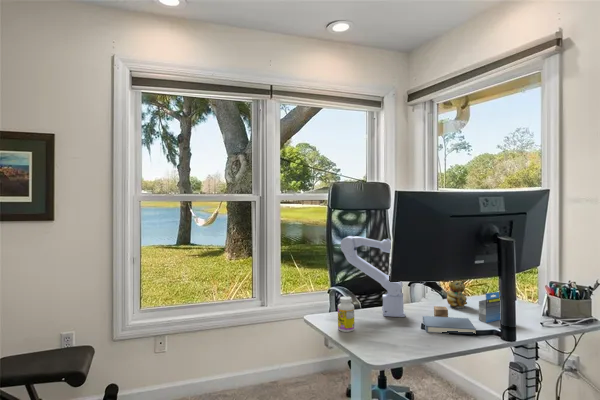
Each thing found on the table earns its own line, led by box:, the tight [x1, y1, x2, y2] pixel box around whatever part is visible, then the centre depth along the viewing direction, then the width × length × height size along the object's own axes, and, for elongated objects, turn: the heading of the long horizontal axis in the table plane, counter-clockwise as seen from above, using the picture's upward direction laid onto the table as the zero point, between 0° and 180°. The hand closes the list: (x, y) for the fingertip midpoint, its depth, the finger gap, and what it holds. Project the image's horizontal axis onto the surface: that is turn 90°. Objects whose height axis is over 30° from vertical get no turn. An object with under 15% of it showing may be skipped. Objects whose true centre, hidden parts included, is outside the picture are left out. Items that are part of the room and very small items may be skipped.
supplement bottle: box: [337, 295, 356, 333], centre depth 149 cm, size 7×7×13 cm
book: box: [422, 315, 477, 334], centre depth 148 cm, size 18×13×3 cm
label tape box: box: [478, 291, 501, 324], centre depth 157 cm, size 9×4×12 cm, turn 113°
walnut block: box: [433, 305, 449, 317], centre depth 159 cm, size 5×5×5 cm
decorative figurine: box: [446, 281, 468, 309], centre depth 179 cm, size 10×8×15 cm
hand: (444, 285), depth 161 cm, fingers open, 7 cm apart
